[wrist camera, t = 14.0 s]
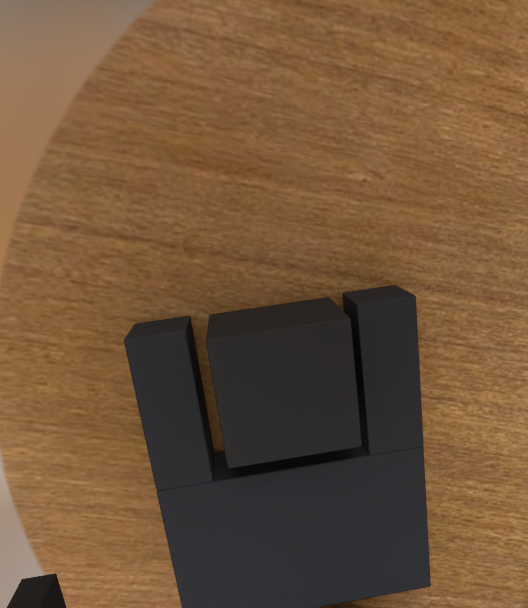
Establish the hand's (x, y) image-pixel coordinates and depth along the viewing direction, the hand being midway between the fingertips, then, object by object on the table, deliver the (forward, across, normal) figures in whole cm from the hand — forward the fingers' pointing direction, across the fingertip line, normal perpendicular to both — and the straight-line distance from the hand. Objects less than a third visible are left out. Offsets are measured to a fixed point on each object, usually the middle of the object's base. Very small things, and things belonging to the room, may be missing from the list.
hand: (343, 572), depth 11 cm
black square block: (+13, 0, 0) cm, 13 cm away
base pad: (+13, 0, -4) cm, 13 cm away
